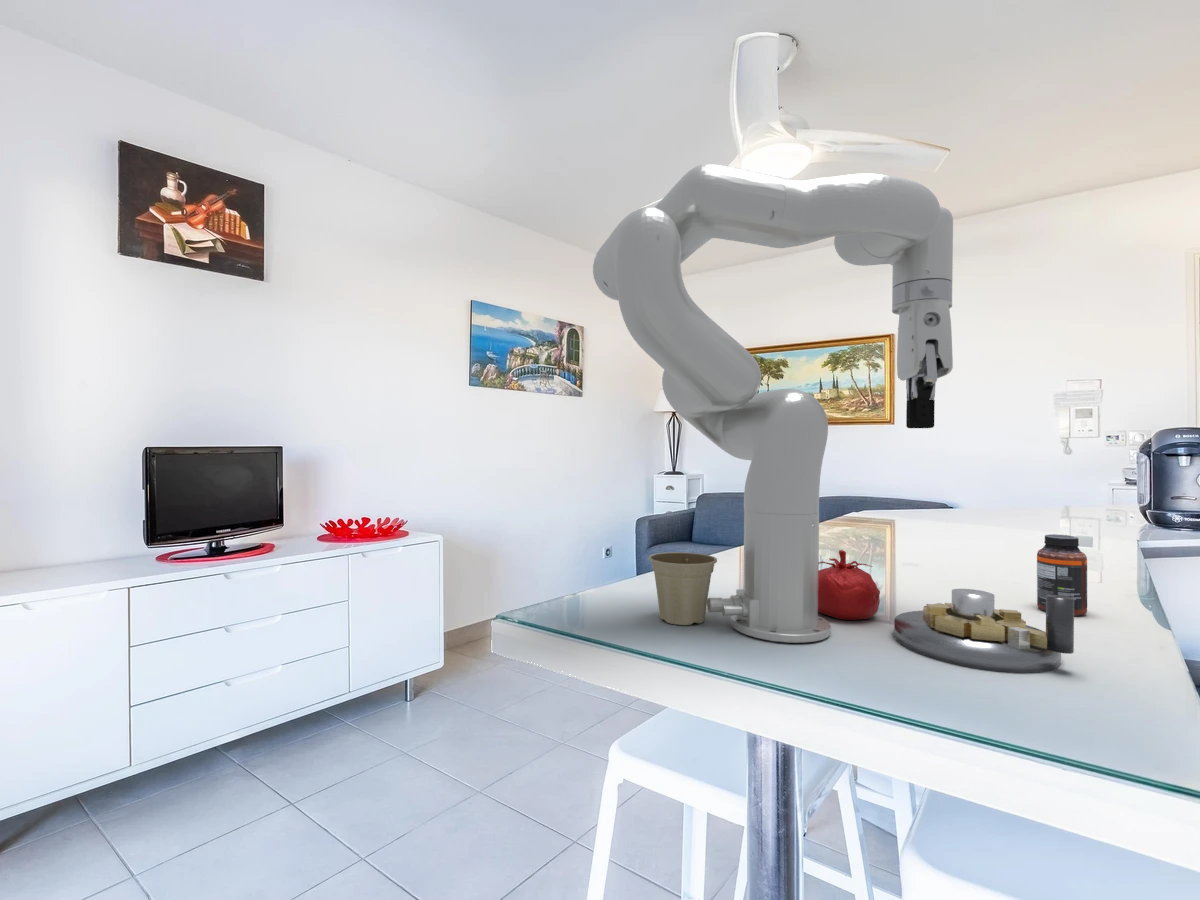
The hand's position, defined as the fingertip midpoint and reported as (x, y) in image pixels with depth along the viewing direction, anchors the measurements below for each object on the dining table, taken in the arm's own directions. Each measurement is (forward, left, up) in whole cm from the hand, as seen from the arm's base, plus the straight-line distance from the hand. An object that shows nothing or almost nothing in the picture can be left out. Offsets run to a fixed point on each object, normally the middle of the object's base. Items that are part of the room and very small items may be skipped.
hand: (920, 427), depth 83 cm
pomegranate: (-10, +2, -27) cm, 29 cm away
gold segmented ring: (0, -14, -25) cm, 29 cm away
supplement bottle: (+24, +2, -27) cm, 36 cm away
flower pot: (-34, +1, -27) cm, 44 cm away
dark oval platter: (-1, -12, -27) cm, 30 cm away
